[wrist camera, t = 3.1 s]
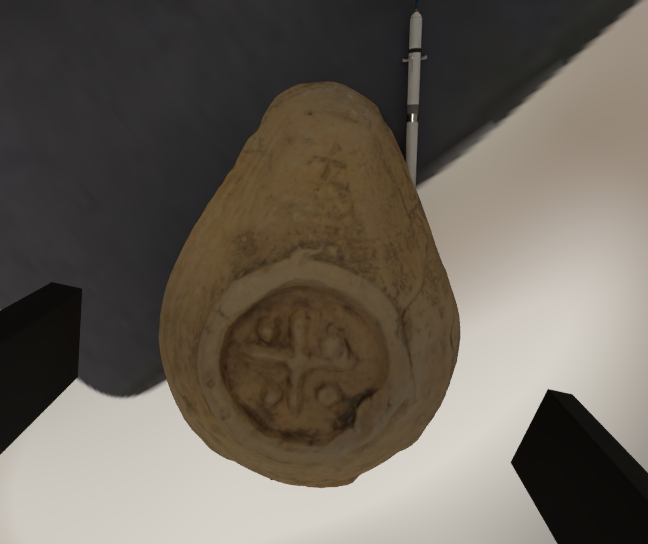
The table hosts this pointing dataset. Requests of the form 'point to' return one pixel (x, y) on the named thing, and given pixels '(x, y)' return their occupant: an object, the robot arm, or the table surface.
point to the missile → (413, 92)
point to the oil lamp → (311, 299)
